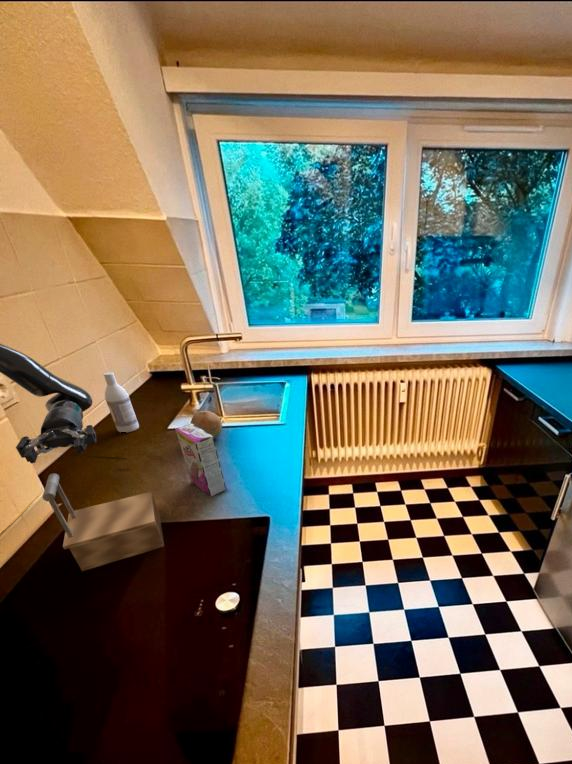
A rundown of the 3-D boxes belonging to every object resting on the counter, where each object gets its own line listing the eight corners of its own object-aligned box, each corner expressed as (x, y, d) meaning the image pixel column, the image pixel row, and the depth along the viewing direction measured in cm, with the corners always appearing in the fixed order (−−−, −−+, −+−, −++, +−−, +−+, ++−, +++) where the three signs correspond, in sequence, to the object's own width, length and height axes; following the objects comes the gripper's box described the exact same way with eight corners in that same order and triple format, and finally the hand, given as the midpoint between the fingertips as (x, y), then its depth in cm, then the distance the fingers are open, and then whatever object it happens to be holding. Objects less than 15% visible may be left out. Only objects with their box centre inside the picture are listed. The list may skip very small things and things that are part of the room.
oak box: (82, 571, 79) (69, 548, 76) (86, 535, 88) (74, 513, 85) (164, 546, 85) (155, 524, 82) (159, 515, 94) (152, 494, 91)
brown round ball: (229, 432, 133) (223, 405, 128) (217, 446, 125) (211, 417, 120) (202, 432, 134) (195, 404, 129) (189, 445, 126) (181, 416, 120)
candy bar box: (190, 482, 107) (173, 428, 98) (206, 475, 110) (192, 422, 101) (210, 498, 100) (194, 442, 92) (227, 490, 104) (214, 435, 95)
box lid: (64, 549, 75) (36, 501, 69) (70, 514, 85) (46, 469, 78) (155, 524, 82) (137, 478, 75) (152, 494, 91) (136, 451, 85)
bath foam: (116, 428, 137) (94, 372, 127) (137, 423, 141) (118, 368, 130) (119, 435, 133) (97, 378, 122) (141, 430, 136) (121, 374, 125)
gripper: (19, 417, 89) (4, 446, 77) (90, 406, 95) (86, 431, 83) (35, 446, 93) (22, 478, 81) (102, 433, 99) (99, 461, 87)
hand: (55, 454), depth 82 cm, fingers open, 8 cm apart
